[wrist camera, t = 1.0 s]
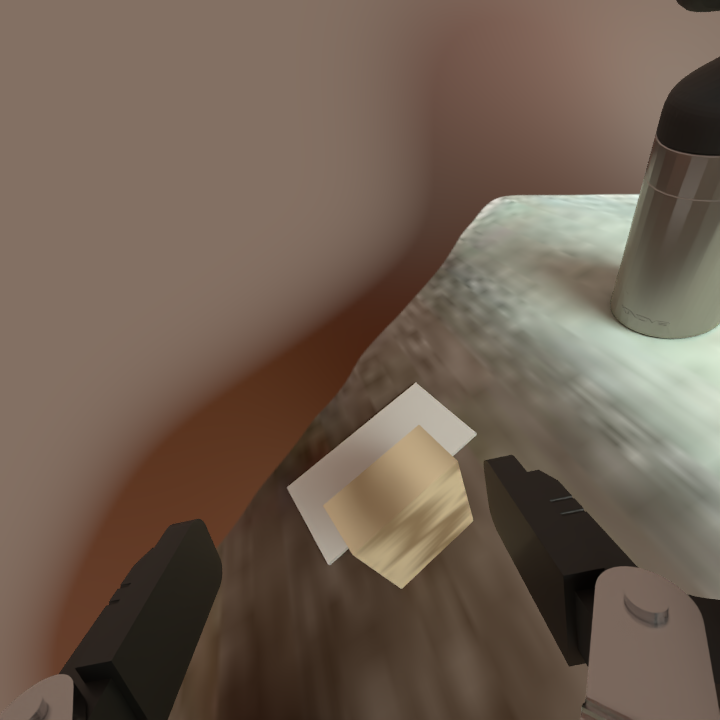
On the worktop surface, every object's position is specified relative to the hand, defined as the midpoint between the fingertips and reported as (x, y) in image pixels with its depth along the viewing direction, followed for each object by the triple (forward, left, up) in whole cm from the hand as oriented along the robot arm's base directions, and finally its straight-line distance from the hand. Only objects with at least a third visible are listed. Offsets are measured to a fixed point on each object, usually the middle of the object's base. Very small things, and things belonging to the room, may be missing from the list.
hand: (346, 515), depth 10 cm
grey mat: (-3, -13, -23) cm, 26 cm away
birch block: (-2, -5, -23) cm, 24 cm away
